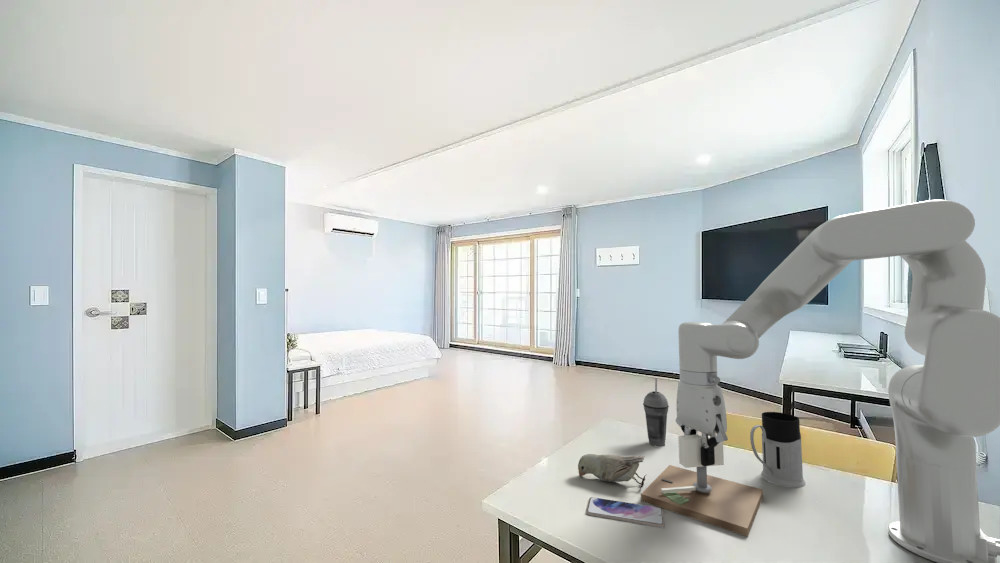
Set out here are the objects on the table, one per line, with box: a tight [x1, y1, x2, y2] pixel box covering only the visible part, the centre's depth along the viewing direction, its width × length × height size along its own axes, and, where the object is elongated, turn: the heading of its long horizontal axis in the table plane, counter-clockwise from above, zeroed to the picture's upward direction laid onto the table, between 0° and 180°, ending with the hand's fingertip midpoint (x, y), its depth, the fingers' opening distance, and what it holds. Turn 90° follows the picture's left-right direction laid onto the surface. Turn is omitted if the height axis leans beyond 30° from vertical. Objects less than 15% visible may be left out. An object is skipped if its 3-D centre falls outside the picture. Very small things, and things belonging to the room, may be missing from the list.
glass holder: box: [749, 411, 806, 489], centre depth 94 cm, size 9×14×15 cm, turn 109°
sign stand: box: [661, 433, 725, 493], centre depth 86 cm, size 14×4×12 cm, turn 97°
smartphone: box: [585, 496, 665, 528], centre depth 81 cm, size 7×1×15 cm
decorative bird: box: [577, 453, 647, 491], centre depth 95 cm, size 5×16×8 cm, turn 65°
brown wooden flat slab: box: [640, 464, 764, 537], centre depth 86 cm, size 20×19×2 cm
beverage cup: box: [642, 377, 670, 448], centre depth 119 cm, size 7×7×20 cm
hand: (700, 460), depth 86 cm, fingers closed on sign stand, 3 cm apart
